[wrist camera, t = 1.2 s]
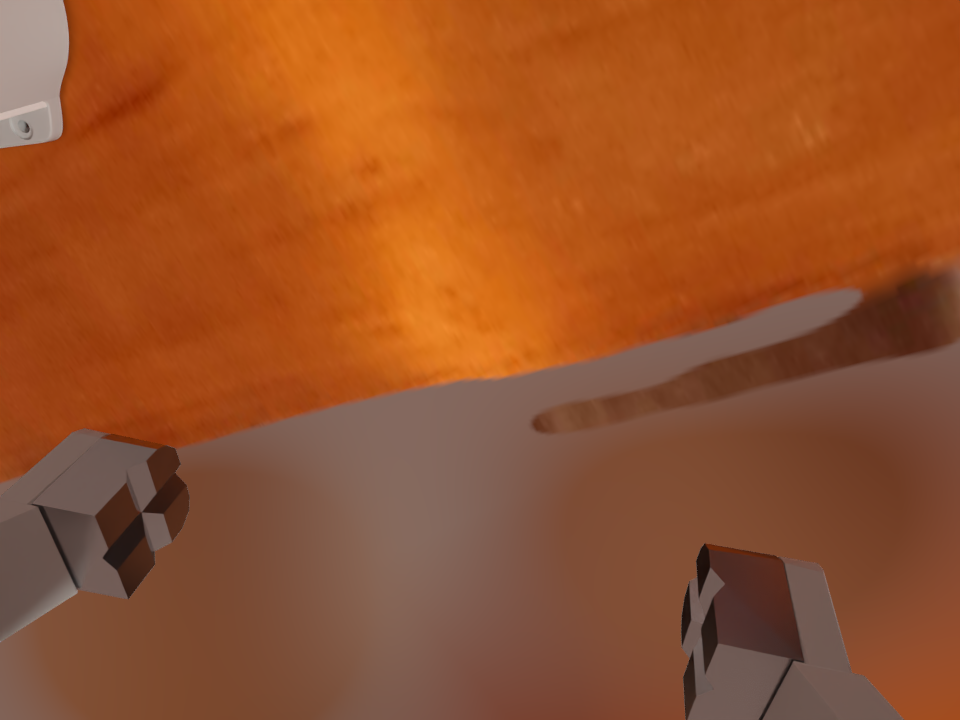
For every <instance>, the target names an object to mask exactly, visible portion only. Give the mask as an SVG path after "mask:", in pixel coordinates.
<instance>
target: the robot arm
mask: <svg viewBox="0 0 960 720" xmlns="http://www.w3.org/2000/svg"><path fill="white" fill-rule="evenodd" d="M68 51H69V33H68V23H67V17H66V12H65V7H64V3H63V0H0V148H6V147H14V146H21V145H29V144H37V143H44V142H49V141H54V140H57V139H58V138H59V137H60V136H61V134H62V130H63V120H62V111H61V104H60V97H59V94H60V87H61V83H62V79H63V76H64V73H65V69H66V65H67V60H68ZM26 123H27V124H28V125H29V127H28V126H27V125H26ZM180 465H181V463H180V460H179V457H178V455H177V452H176V449H175V448H173V447H170V446H167V445H163V444H158V443H153V442H149V441H144V440H139V439H135V438H130V437H125V436H120V435H116V434H109V433H104V432H99V431H94V430H89V429H85V428H84V429H81V430H78V431H75V432H72V433H71V434H70V435H69V436H68V437H67V438H66V439H64V440H63V441H62V442H61V443H60V444H59V445H58V446H57V447H55V448H54V449H53V450H52V451H51V452H50V453H49V454H48V455H46V456H45V457H44V458H43V459H42V460H41V461H40V462H38V463H37V464H36V465H35V466H34V467H33V468H32V469H31V470H29V471H28V472H27V473H26V474H25V475H24V476H23V477H21V478H20V479H19V480H18V481H17V482H16V483H15V484H14V485H12V486H11V487H10V488H9V489H8V490H7V491H6V492H5V493H3V494H2V495H1V496H0V642H1V641H3V640H5V639H6V638H8V637H9V636H11V635H12V634H14V633H15V632H17V631H19V630H20V629H22V628H23V627H25V626H26V625H28V624H30V623H31V622H33V621H34V620H36V619H37V618H39V617H40V616H42V615H44V614H45V613H47V612H48V611H50V610H51V609H53V608H54V607H56V606H57V605H59V604H61V603H62V602H64V601H65V600H67V599H68V598H70V597H72V596H73V595H75V594H76V593H77V589H78V590H83V591H88V592H93V593H99V594H104V595H109V596H114V597H119V598H124V599H129V598H130V596H131V595H132V594H133V593H134V591H135V590H136V589H137V587H138V586H139V585H140V583H141V582H142V581H143V580H144V578H145V577H146V576H147V574H148V573H149V572H150V570H151V569H152V568H153V566H154V565H155V551H156V550H158V549H160V548H162V547H164V546H166V545H167V544H169V543H171V542H173V540H174V539H175V537H176V536H177V535H178V533H179V532H180V531H181V529H182V527H183V525H184V523H185V520H186V517H187V514H188V512H189V499H190V497H189V492H188V488H187V485H186V484H185V483H184V482H183V481H182V480H181V478H180V477H178V475H177V474H176V473H175V472H176V470H177V469H178V468H179V466H180ZM696 566H697V577H696V578H695V579H693V580H691V581H689V584H688V587H687V591H686V594H685V598H684V604H683V611H682V620H681V641H682V649H683V650H684V651H685V653H686V654H687V655H688V657H689V658H690V659H689V662H688V665H687V668H686V671H685V673H684V676H683V683H684V702H685V719H686V720H904V719H903V718H902V717H901V716H900V715H899V714H898V712H897V711H896V710H895V709H894V708H893V707H892V706H891V705H890V704H889V703H888V701H887V700H886V699H885V698H884V697H883V696H882V695H881V694H880V693H879V692H878V690H877V689H876V688H875V687H874V686H873V685H872V684H871V683H870V682H869V681H868V680H867V678H866V677H865V676H863V675H859V674H854V673H852V672H851V668H850V664H849V661H848V657H847V653H846V650H845V646H844V643H843V639H842V636H841V632H840V628H839V625H838V621H837V618H836V614H835V610H834V607H833V603H832V600H831V596H830V593H829V589H828V585H827V582H826V579H825V575H824V571H823V569H822V568H821V567H820V565H819V564H818V563H814V562H808V561H802V560H796V559H791V558H785V557H777V556H775V555H769V554H764V553H757V552H751V551H746V550H740V549H734V548H729V547H723V546H717V545H712V544H706V543H705V544H704V545H703V546H702V547H701V549H700V552H699V554H698V557H697V560H696Z"/></svg>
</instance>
